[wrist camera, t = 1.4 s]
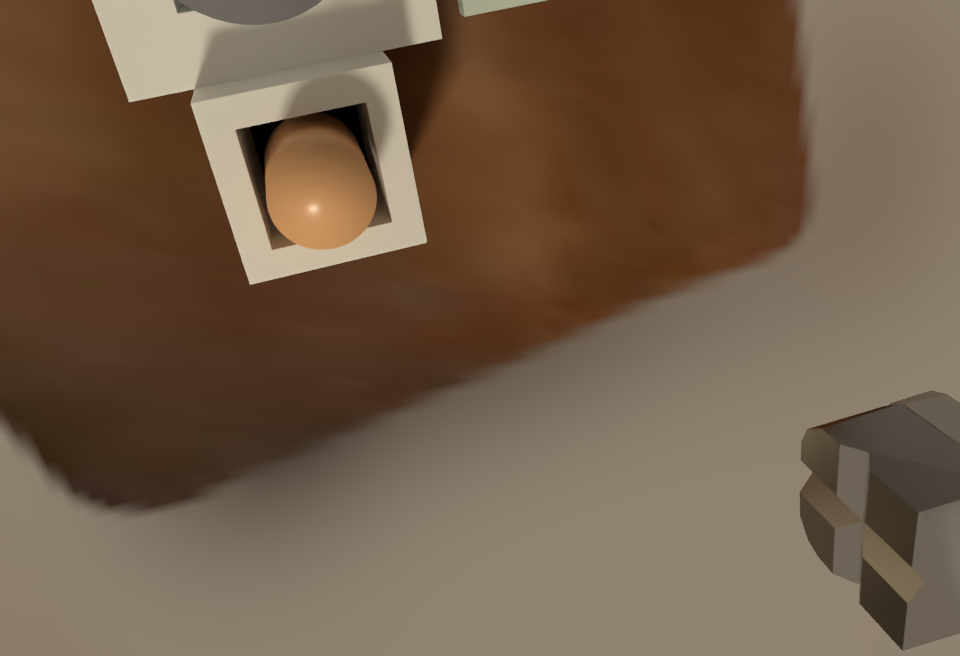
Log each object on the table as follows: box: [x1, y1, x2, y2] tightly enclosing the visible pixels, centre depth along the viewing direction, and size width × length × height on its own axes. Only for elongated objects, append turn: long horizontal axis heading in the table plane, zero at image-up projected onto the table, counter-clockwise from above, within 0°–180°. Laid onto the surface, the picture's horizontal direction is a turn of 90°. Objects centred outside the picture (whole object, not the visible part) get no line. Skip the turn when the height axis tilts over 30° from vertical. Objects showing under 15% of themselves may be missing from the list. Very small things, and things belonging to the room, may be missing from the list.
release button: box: [264, 113, 377, 250], centre depth 25 cm, size 3×3×4 cm
